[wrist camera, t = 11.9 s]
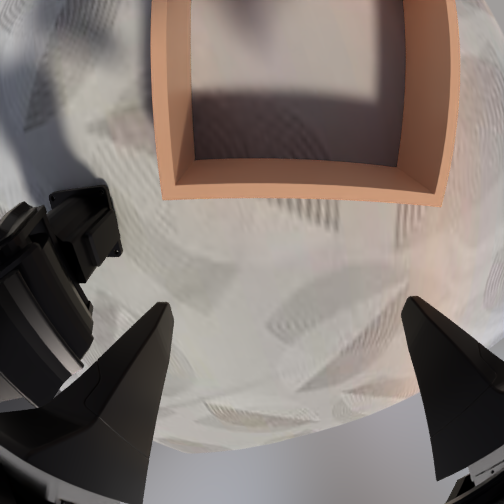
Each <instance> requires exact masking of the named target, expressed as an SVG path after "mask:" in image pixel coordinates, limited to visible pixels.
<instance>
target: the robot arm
mask: <svg viewBox="0 0 504 504" xmlns="http://www.w3.org/2000/svg"><path fill="white" fill-rule="evenodd" d="M101 190H103V191H104V194H103V193H102V192H101ZM53 196H54V197H53ZM54 198H55V199H54ZM49 200H50V204H51V208H52V210H51V211H50V212H48V213H47V211H46V208H45V206H44V205H42V206H39V207H34V208H33V207H32V206H30V205H28V204H27V203H26V202H25V201H24V202H21V203H19V204H18V205H17V206H15V207H14V208H13V209H11V210H10V211H9V212H8V213H6V214H5V215H4V216H3V217H2V218H1V220H0V403H1V402H2V401H8V400H13V399H17V398H22V397H24V398H25V399H26V400H27V401H28V402H29V403H31V404H32V405H33V406H34V407H35V409H28V410H21V411H12V412H3V413H0V504H120V502H124V503H128V504H143V496H144V490H145V483H146V476H147V470H148V464H149V456H150V451H151V446H152V440H153V435H154V430H155V425H156V420H157V415H158V410H159V405H160V400H161V395H162V391H163V386H164V382H165V377H166V373H167V369H168V364H169V359H170V351H171V342H172V334H173V326H174V318H173V315H172V311H171V307H170V304H169V303H168V302H157V303H156V304H155V305H154V306H153V307H152V308H151V309H150V310H149V311H148V312H146V313H145V314H144V315H143V316H142V317H141V318H140V319H139V320H138V321H137V322H136V323H135V324H134V325H133V326H132V327H131V328H130V329H129V330H128V331H127V332H126V333H124V334H123V335H122V336H121V337H120V338H119V339H118V340H117V341H116V342H115V343H114V344H113V345H112V346H111V347H110V348H109V349H108V350H107V351H106V352H105V353H104V354H103V355H102V356H101V357H100V358H99V359H98V361H96V362H95V363H94V364H93V365H92V366H91V367H90V368H89V369H88V370H87V371H85V372H84V373H83V374H82V375H81V376H80V377H79V378H78V379H77V380H75V381H74V382H73V383H72V384H71V385H70V386H68V387H67V388H66V389H65V390H63V391H62V392H61V393H60V394H59V395H57V396H56V397H55V398H54V396H55V395H56V393H57V392H58V390H59V389H60V387H61V386H62V385H63V383H64V382H65V381H66V380H67V379H68V378H69V377H70V376H72V375H73V374H74V373H76V372H78V371H79V370H81V369H82V368H83V367H84V364H83V363H82V362H81V361H80V360H81V359H82V358H83V357H84V355H85V354H86V352H87V351H88V350H89V348H90V346H91V344H92V342H93V339H94V337H93V336H92V329H93V320H92V312H93V305H92V303H91V302H90V301H88V299H87V297H86V296H85V294H84V292H83V290H82V288H81V287H80V285H79V283H86V282H87V280H88V279H89V277H90V276H91V274H92V273H93V271H94V270H95V269H96V267H99V266H101V264H102V263H103V261H104V260H105V258H106V257H119V256H121V254H122V252H123V249H122V245H121V241H120V233H119V229H118V225H117V221H116V217H115V212H114V211H113V209H112V204H111V199H110V194H109V190H108V188H107V186H105V185H98V186H90V187H83V188H76V189H69V190H62V191H56V192H53V193H51V194H50V195H49ZM46 213H47V214H46ZM116 250H118V252H117V251H116ZM401 318H402V322H403V327H404V331H405V336H406V340H407V345H408V349H409V353H410V357H411V360H412V363H413V367H414V370H415V374H416V377H417V381H418V385H419V389H420V393H421V396H422V401H423V405H424V409H425V414H426V419H427V423H428V428H429V434H430V437H431V438H430V440H431V445H432V452H433V458H434V466H435V474H436V480H437V481H439V480H441V479H444V478H446V477H448V476H450V475H452V474H454V473H456V472H458V471H460V470H462V469H464V468H466V467H468V468H469V472H470V473H469V474H468V475H466V476H464V477H462V478H460V479H459V480H457V482H456V484H455V486H454V488H453V490H452V492H451V494H450V496H449V498H448V500H447V502H446V503H445V504H504V361H503V360H501V359H500V358H498V357H497V356H496V355H494V354H493V353H492V352H490V351H489V350H488V349H487V348H485V347H484V346H483V345H482V344H480V343H478V341H477V340H475V339H474V338H473V337H472V336H470V335H469V334H468V333H467V332H465V331H464V330H463V329H461V328H460V327H459V326H458V325H456V324H455V323H454V322H452V321H451V320H450V319H448V318H447V317H446V316H444V315H443V314H442V313H440V312H439V311H438V310H436V309H435V308H434V307H432V306H431V305H430V304H428V303H427V302H426V301H424V300H423V299H421V298H420V297H419V296H410V297H408V298H407V300H406V303H405V305H404V307H403V310H402V312H401ZM53 398H54V399H53Z"/></svg>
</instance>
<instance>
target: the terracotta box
mask: <svg viewBox="0 0 504 504" xmlns="http://www.w3.org/2000/svg"><path fill="white" fill-rule="evenodd" d="M403 7H404V20H405V43H406V72H405V96H404V110H403V121H402V131H401V140H400V147H399V155H398V162H397V167H389V166H381V165H372V164H363V163H352V162H340V161H326V160H307V159H277V158H235V159H204V160H195V151H194V135H193V117H192V93H191V44H190V30H191V0H152V6H151V83H152V102H153V117H154V130H155V141H156V151H157V160H158V169H159V177H160V185H161V192H162V199H163V200H181V199H212V198H303V199H334V200H356V201H373V202H388V203H401V204H413V205H424V206H434V207H441V206H442V202H443V198H444V194H445V189H446V185H447V181H448V176H449V171H450V166H451V160H452V155H453V149H454V142H455V135H456V127H457V118H458V107H459V92H460V44H459V29H458V19H457V11H456V4H455V0H403Z"/></svg>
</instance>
